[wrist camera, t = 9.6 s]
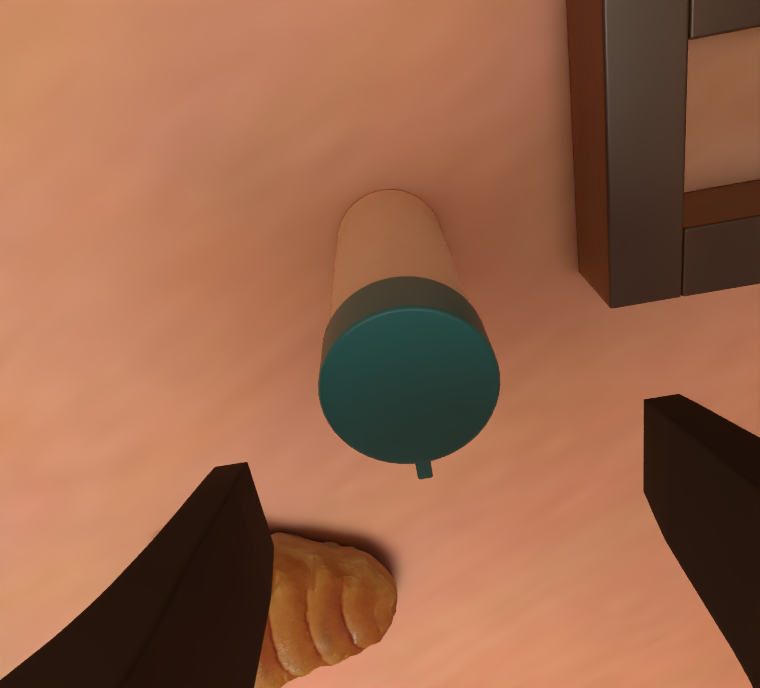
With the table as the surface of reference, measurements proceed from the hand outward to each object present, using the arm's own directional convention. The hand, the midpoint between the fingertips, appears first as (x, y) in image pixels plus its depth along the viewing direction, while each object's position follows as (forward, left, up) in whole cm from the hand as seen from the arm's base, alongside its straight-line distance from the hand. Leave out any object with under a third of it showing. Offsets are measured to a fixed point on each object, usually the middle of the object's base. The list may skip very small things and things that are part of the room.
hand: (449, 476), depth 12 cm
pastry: (+8, +12, -10) cm, 17 cm away
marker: (+1, -1, -10) cm, 10 cm away
